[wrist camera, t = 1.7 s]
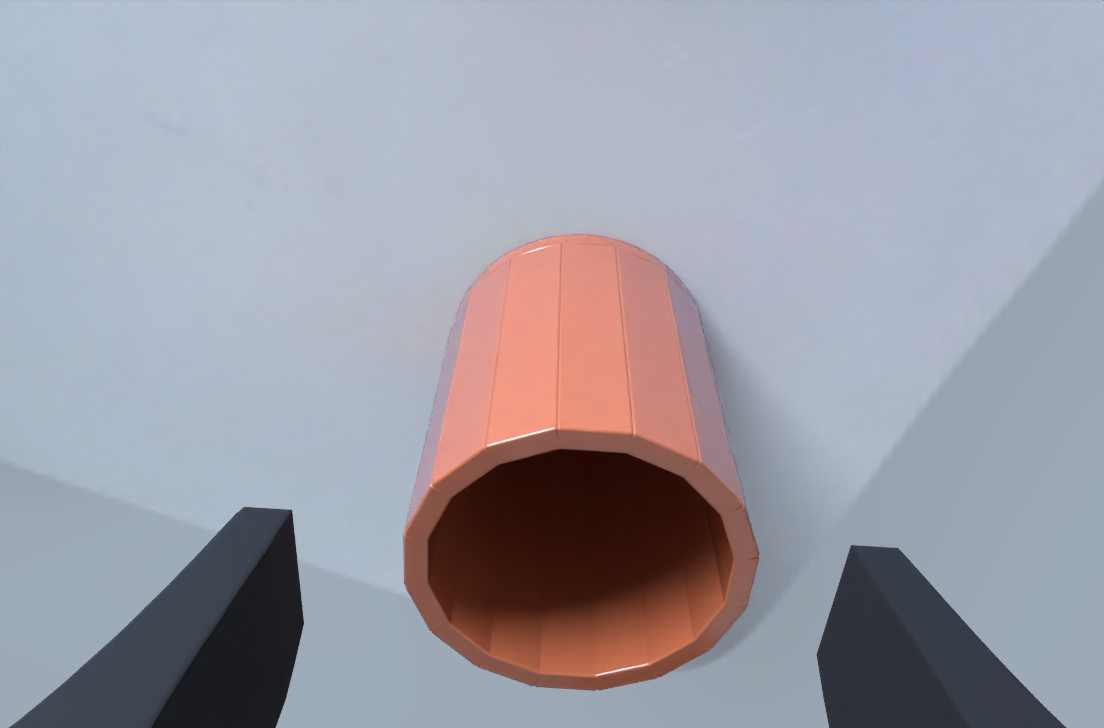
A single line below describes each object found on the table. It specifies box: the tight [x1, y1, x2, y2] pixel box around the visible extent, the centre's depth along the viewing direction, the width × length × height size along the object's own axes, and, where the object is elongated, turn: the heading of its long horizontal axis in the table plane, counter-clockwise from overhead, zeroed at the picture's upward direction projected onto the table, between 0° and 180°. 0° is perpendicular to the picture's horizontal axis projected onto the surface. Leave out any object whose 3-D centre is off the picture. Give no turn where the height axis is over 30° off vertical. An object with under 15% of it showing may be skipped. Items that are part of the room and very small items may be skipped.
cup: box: [403, 235, 759, 691], centre depth 18 cm, size 6×6×7 cm
